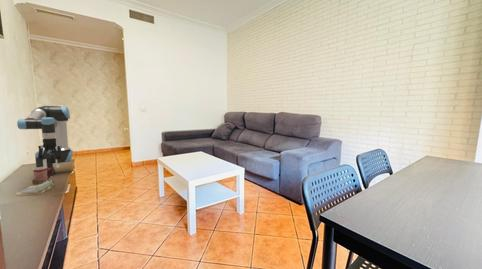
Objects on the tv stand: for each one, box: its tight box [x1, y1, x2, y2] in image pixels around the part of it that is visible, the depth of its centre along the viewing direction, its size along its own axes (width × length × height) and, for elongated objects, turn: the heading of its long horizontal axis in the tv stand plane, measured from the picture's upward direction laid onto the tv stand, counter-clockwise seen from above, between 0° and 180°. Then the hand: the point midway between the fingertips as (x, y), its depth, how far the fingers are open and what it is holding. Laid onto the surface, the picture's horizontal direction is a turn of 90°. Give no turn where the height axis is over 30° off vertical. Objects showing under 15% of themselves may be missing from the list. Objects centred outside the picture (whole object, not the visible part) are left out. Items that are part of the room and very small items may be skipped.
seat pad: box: [19, 187, 36, 193], centre depth 162 cm, size 11×11×1 cm
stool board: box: [15, 178, 55, 197], centre depth 165 cm, size 18×14×6 cm
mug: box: [32, 167, 53, 184], centre depth 180 cm, size 13×9×14 cm
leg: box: [36, 178, 53, 191], centre depth 167 cm, size 15×4×4 cm, turn 13°
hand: (51, 167), depth 163 cm, fingers open, 8 cm apart
